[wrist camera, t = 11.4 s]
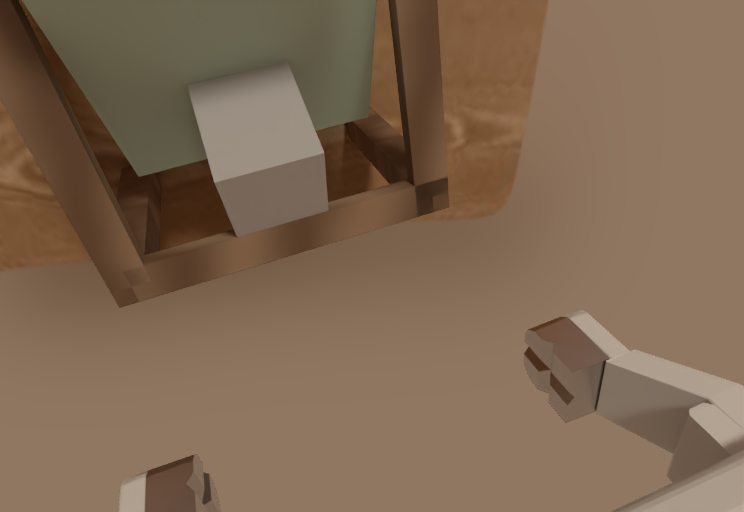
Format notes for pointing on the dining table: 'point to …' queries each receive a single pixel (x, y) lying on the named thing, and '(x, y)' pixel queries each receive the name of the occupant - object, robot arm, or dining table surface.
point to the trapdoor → (205, 61)
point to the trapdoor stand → (225, 251)
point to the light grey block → (261, 147)
